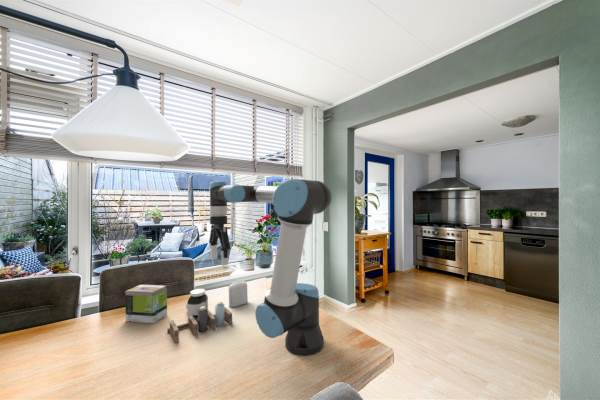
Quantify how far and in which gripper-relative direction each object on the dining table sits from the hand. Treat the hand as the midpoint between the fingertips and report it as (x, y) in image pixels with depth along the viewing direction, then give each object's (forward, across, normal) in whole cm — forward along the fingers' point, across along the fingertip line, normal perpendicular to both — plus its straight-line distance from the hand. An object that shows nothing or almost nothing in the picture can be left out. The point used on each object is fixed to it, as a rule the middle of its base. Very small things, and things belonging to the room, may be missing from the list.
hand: (219, 262), depth 114 cm
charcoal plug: (+29, 0, +8) cm, 30 cm away
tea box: (+29, +29, +26) cm, 48 cm away
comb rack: (+29, +3, +8) cm, 30 cm away
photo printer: (+29, +15, -16) cm, 36 cm away
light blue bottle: (+29, 0, 0) cm, 29 cm away
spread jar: (+29, +19, +6) cm, 35 cm away
